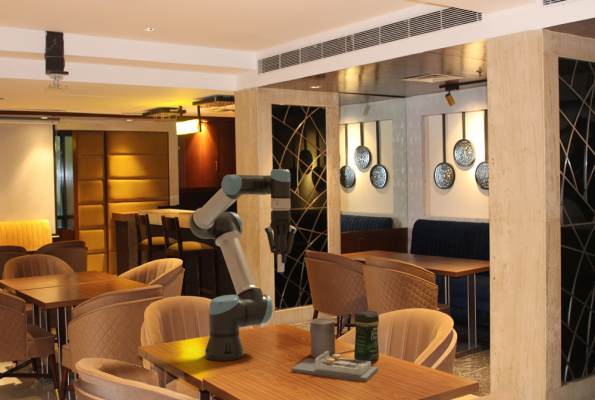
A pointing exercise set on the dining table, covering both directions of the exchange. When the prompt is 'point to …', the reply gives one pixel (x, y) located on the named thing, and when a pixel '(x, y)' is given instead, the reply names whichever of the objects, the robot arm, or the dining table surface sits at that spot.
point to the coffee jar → (366, 336)
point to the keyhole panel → (342, 365)
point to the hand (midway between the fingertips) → (280, 271)
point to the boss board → (309, 368)
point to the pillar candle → (322, 336)
